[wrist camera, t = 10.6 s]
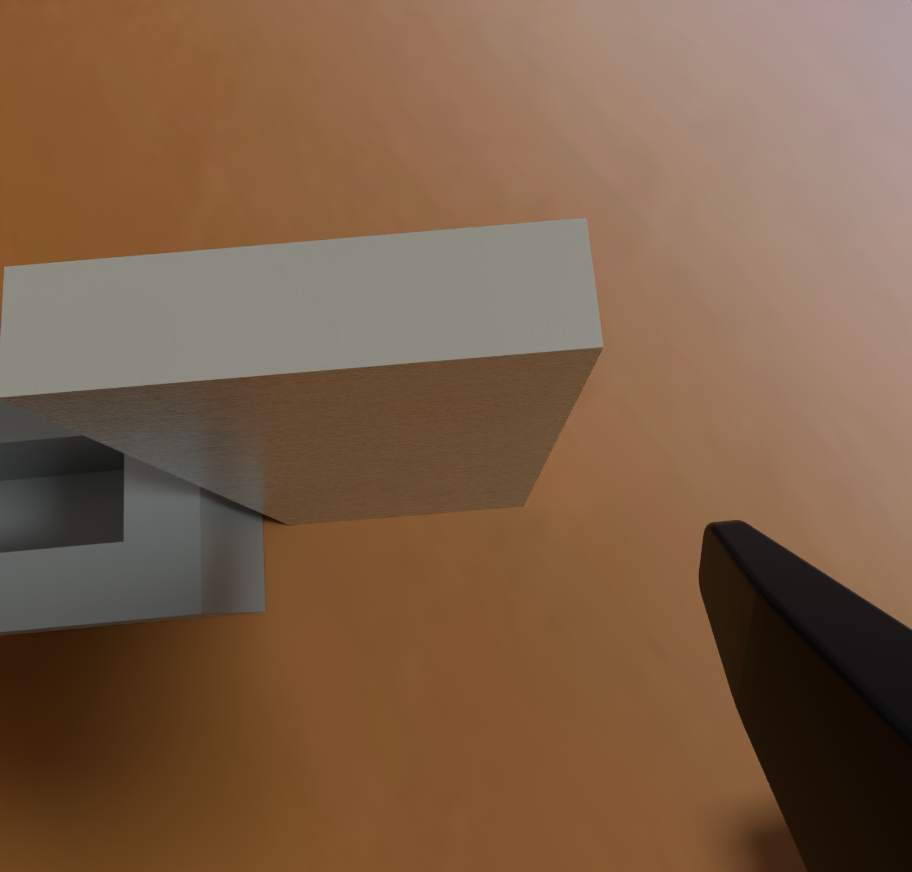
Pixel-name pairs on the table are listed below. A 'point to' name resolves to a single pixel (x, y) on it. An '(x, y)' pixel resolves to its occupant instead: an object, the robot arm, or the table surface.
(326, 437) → the cover plate
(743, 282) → the table surface
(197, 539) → the slot box
